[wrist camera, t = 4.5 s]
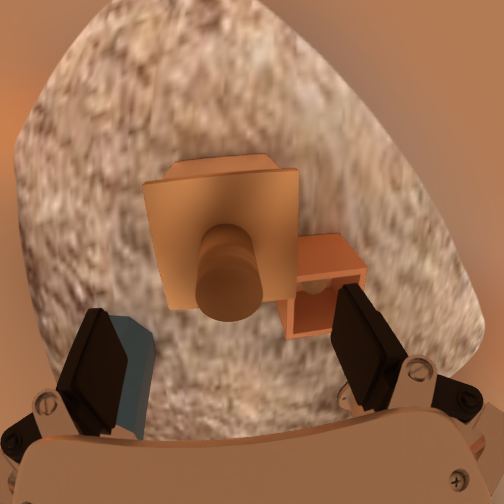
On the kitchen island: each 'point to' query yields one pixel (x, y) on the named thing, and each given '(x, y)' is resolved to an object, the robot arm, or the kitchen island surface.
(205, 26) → the kitchen island surface
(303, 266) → the orange open box
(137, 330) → the water bottle
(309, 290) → the cork
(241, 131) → the kitchen island surface
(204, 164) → the cream open box
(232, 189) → the lid
